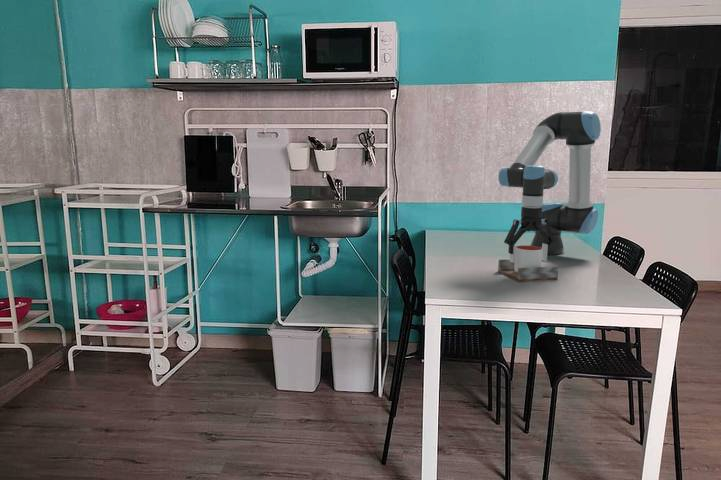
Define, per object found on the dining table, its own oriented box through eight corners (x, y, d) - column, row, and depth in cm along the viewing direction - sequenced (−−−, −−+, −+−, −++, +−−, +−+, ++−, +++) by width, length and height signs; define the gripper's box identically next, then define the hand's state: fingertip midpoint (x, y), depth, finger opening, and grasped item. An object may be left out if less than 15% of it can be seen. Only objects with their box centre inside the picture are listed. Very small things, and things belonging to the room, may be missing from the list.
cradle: (533, 269, 218) (534, 257, 217) (557, 279, 202) (558, 267, 201) (497, 271, 214) (498, 259, 213) (519, 282, 199) (520, 268, 198)
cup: (540, 271, 211) (542, 246, 209) (540, 277, 202) (542, 251, 200) (514, 269, 214) (516, 244, 213) (513, 274, 205) (514, 249, 203)
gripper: (555, 204, 210) (551, 257, 214) (497, 206, 204) (494, 260, 208) (566, 207, 203) (562, 261, 207) (506, 208, 197) (503, 265, 201)
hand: (528, 261), depth 208 cm, fingers open, 13 cm apart
